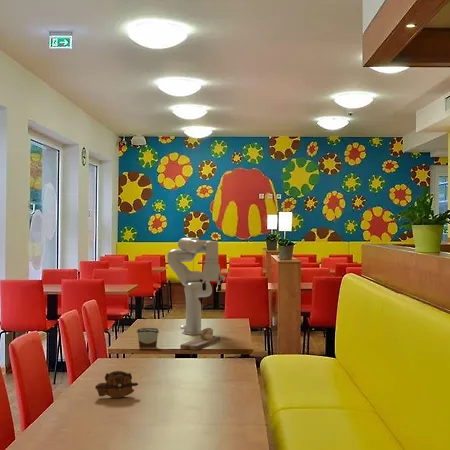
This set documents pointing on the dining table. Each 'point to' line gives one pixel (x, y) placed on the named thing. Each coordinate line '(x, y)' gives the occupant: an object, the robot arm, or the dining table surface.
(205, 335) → the beige rectangular block
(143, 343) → the food container
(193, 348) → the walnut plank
